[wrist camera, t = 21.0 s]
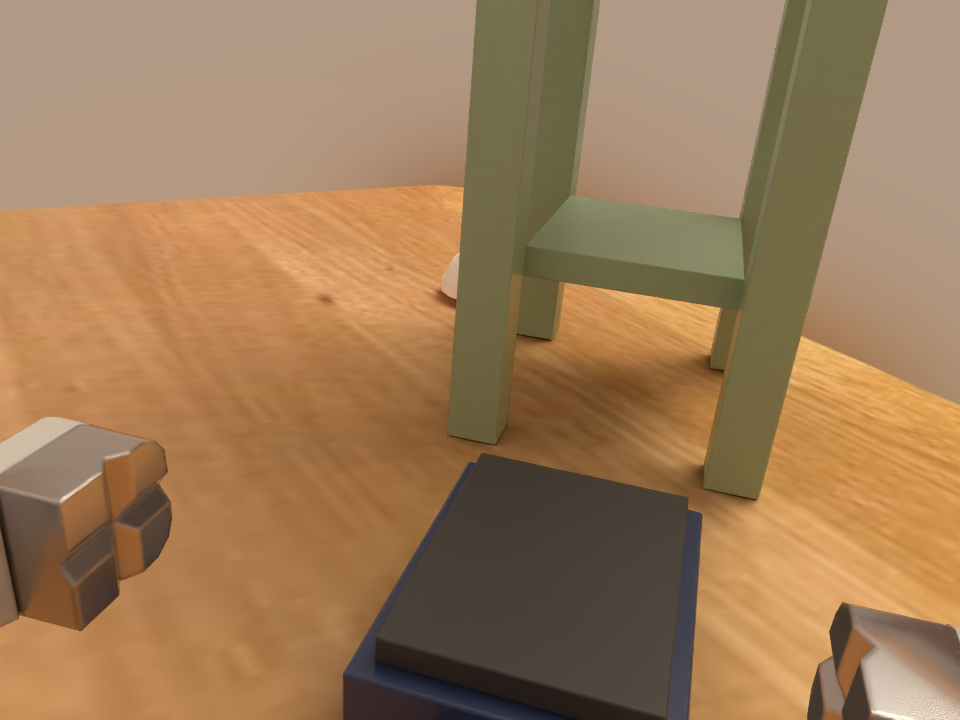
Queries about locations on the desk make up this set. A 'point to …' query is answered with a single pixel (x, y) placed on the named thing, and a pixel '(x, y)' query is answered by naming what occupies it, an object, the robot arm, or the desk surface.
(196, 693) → the desk surface
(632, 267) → the stand
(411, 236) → the desk surface
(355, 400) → the desk surface
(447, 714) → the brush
